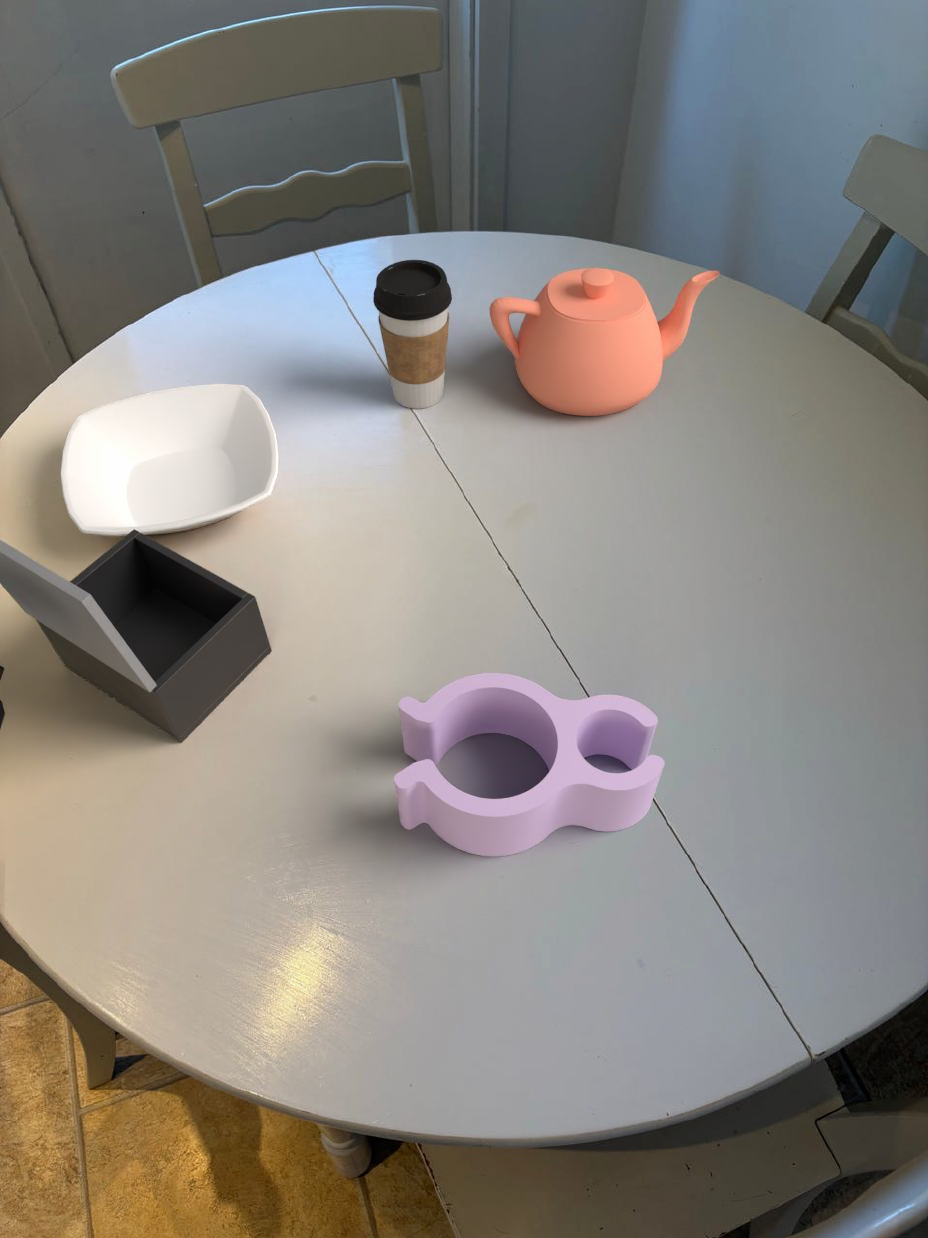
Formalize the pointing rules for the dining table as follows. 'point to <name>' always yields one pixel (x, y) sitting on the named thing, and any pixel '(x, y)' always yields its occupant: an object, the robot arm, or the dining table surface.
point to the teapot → (593, 339)
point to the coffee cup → (414, 329)
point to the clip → (554, 734)
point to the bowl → (168, 460)
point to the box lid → (68, 613)
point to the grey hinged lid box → (168, 633)
